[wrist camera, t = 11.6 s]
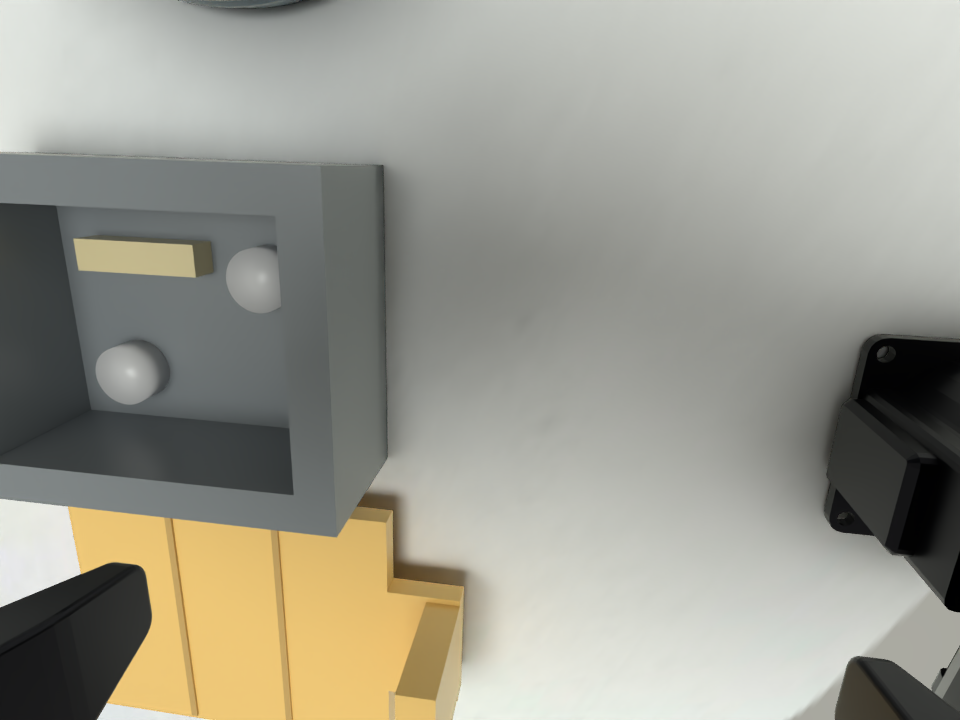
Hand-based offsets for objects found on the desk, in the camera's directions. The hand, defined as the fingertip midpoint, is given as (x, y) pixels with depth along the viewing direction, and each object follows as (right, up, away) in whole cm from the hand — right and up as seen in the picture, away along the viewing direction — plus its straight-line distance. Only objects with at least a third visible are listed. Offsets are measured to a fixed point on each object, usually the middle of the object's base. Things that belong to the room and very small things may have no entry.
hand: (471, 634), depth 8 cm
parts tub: (-9, +5, +14) cm, 17 cm away
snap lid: (-8, -6, +17) cm, 19 cm away
